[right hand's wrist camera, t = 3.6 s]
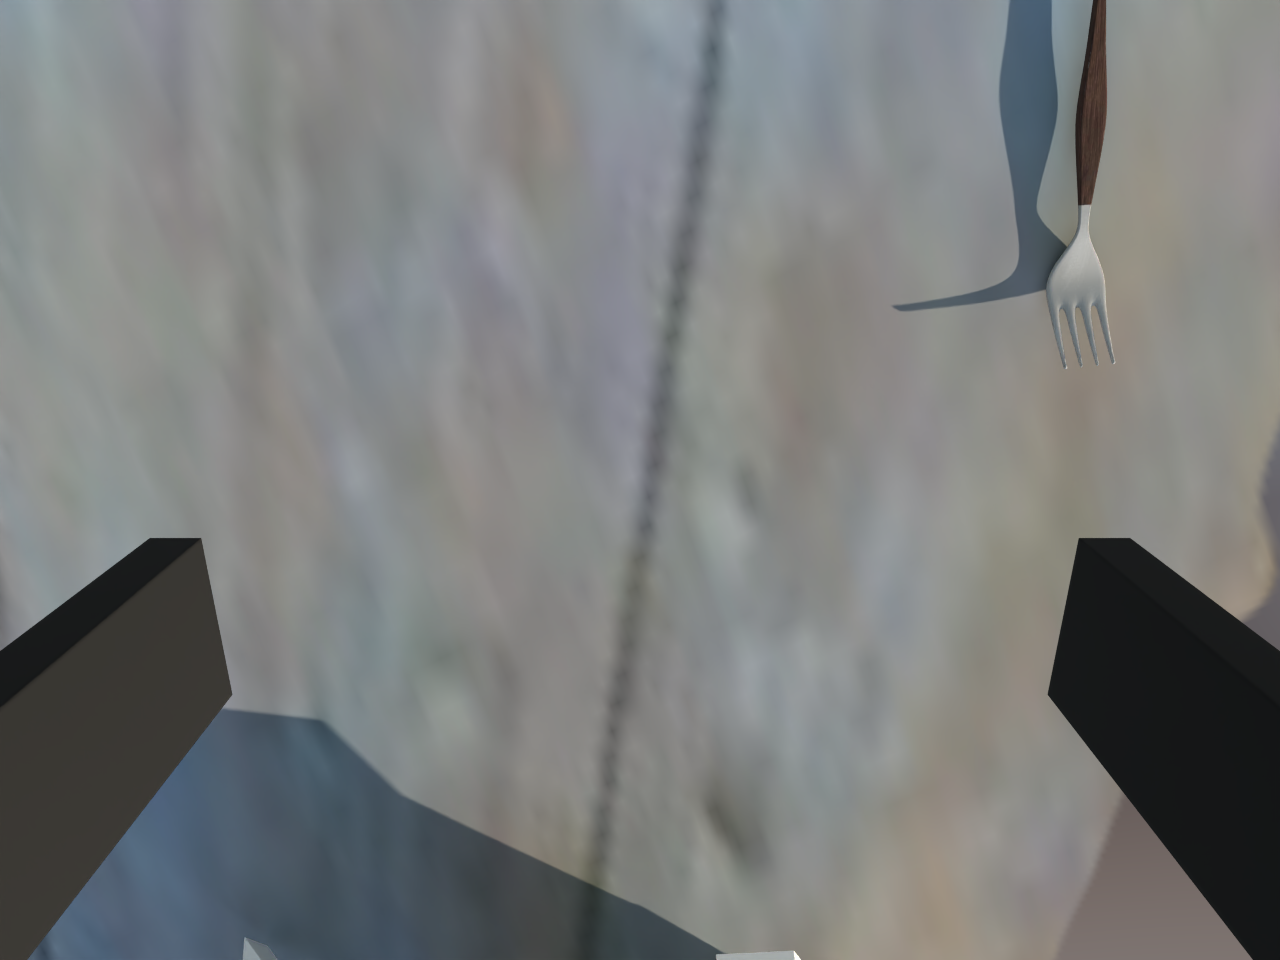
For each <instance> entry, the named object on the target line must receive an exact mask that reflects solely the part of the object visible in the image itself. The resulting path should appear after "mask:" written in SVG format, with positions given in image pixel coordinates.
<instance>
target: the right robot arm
mask: <svg viewBox="0 0 1280 960" xmlns="http://www.w3.org/2000/svg"><path fill="white" fill-rule="evenodd" d="M231 696H232V690H231V685H230V680H229V675H228V670H227V665H226V660H225V655H224V650H223V645H222V640H221V635H220V630H219V625H218V620H217V615H216V610H215V605H214V600H213V595H212V590H211V585H210V580H209V575H208V570H207V565H206V560H205V555H204V550H203V545H202V540H201V538H149V539H148V540H147V541H145V542H144V543H143V544H141V545H140V546H139V547H138V548H136V549H135V550H134V551H132V552H131V553H130V554H128V555H127V556H126V557H124V558H123V559H122V560H120V561H119V562H118V563H116V564H115V565H114V566H112V567H111V568H110V569H108V570H107V571H106V572H104V573H103V574H102V575H100V576H99V577H98V578H96V579H95V580H94V581H92V582H91V583H90V584H89V585H87V586H86V587H85V588H83V589H82V590H81V591H79V592H78V593H77V594H75V595H74V596H73V597H71V598H70V599H69V600H67V601H66V602H65V603H63V604H62V605H61V606H59V607H58V608H57V609H55V610H54V611H53V612H51V613H50V614H49V615H47V616H46V617H45V618H44V619H42V620H41V621H40V622H38V623H37V624H36V625H34V626H33V627H32V628H30V629H29V630H28V631H26V632H25V633H24V634H22V635H21V636H20V637H18V638H17V639H16V640H14V641H13V642H12V643H10V644H9V645H8V646H6V647H5V648H4V649H2V650H1V651H0V960H27V959H28V958H29V957H30V955H31V954H32V953H33V951H34V950H35V949H36V947H37V946H38V945H39V944H40V942H41V941H42V940H43V938H44V937H45V936H46V935H47V933H48V932H49V931H50V929H51V928H52V927H53V926H54V924H55V923H56V922H57V920H58V919H59V918H60V916H61V915H62V914H63V913H64V911H65V910H66V909H67V907H68V906H69V905H70V904H71V902H72V901H73V900H74V898H75V897H76V896H77V895H78V893H79V892H80V891H81V889H82V888H83V887H84V885H85V884H86V883H87V882H88V880H89V879H90V878H91V876H92V875H93V874H94V873H95V871H96V870H97V869H98V867H99V866H100V865H101V864H102V862H103V861H104V860H105V858H106V857H107V856H108V854H109V853H110V852H111V851H112V849H113V848H114V847H115V845H116V844H117V843H118V842H119V840H120V839H121V838H122V836H123V835H124V834H125V833H126V831H127V830H128V829H129V827H130V826H131V825H132V823H133V822H134V821H135V820H136V818H137V817H138V816H139V814H140V813H141V812H142V811H143V809H144V808H145V807H146V805H147V804H148V803H149V802H150V800H151V799H152V798H153V796H154V795H155V794H156V792H157V791H158V790H159V789H160V787H161V786H162V785H163V783H164V782H165V781H166V780H167V778H168V777H169V776H170V774H171V773H172V772H173V771H174V769H175V768H176V767H177V765H178V764H179V763H180V761H181V760H182V759H183V758H184V756H185V755H186V754H187V752H188V751H189V750H190V749H191V747H192V746H193V745H194V743H195V742H196V741H197V740H198V738H199V737H200V736H201V734H202V733H203V732H204V730H205V729H206V728H207V727H208V725H209V724H210V723H211V721H212V720H213V719H214V718H215V716H216V715H217V714H218V712H219V711H220V710H221V709H222V707H223V706H224V705H225V703H226V702H227V701H228V700H229V698H230V697H231ZM1048 696H1049V697H1050V698H1051V700H1052V701H1053V702H1054V703H1055V705H1056V706H1057V707H1058V709H1059V710H1060V711H1061V712H1062V714H1063V715H1064V716H1065V718H1066V719H1067V720H1068V721H1069V723H1070V724H1071V725H1072V727H1073V728H1074V729H1075V730H1076V732H1077V733H1078V734H1079V736H1080V737H1081V738H1082V740H1083V741H1084V742H1085V743H1086V745H1087V746H1088V747H1089V749H1090V750H1091V751H1092V752H1093V754H1094V755H1095V756H1096V758H1097V759H1098V760H1099V761H1100V763H1101V764H1102V765H1103V767H1104V768H1105V769H1106V771H1107V772H1108V773H1109V774H1110V776H1111V777H1112V778H1113V780H1114V781H1115V782H1116V783H1117V785H1118V786H1119V787H1120V789H1121V790H1122V791H1123V792H1124V794H1125V795H1126V796H1127V798H1128V799H1129V800H1130V802H1131V803H1132V804H1133V805H1134V807H1135V808H1136V809H1137V811H1138V812H1139V813H1140V814H1141V816H1142V817H1143V818H1144V820H1145V821H1146V822H1147V823H1148V825H1149V826H1150V827H1151V829H1152V830H1153V831H1154V833H1155V834H1156V835H1157V836H1158V838H1159V839H1160V840H1161V842H1162V843H1163V844H1164V845H1165V847H1166V848H1167V849H1168V851H1169V852H1170V853H1171V854H1172V856H1173V857H1174V858H1175V860H1176V861H1177V862H1178V864H1179V865H1180V866H1181V867H1182V869H1183V870H1184V871H1185V873H1186V874H1187V875H1188V876H1189V878H1190V879H1191V880H1192V882H1193V883H1194V884H1195V885H1196V887H1197V888H1198V889H1199V891H1200V892H1201V893H1202V895H1203V896H1204V897H1205V898H1206V900H1207V901H1208V902H1209V904H1210V905H1211V906H1212V907H1213V909H1214V910H1215V911H1216V913H1217V914H1218V915H1219V916H1220V918H1221V919H1222V920H1223V922H1224V923H1225V924H1226V925H1227V927H1228V928H1229V929H1230V931H1231V932H1232V933H1233V935H1234V936H1235V937H1236V938H1237V940H1238V941H1239V942H1240V944H1241V945H1242V946H1243V947H1244V949H1245V950H1246V951H1247V953H1248V954H1249V955H1250V957H1251V958H1252V959H1253V960H1280V651H1279V650H1278V649H1276V648H1275V647H1274V646H1272V645H1271V644H1270V643H1268V642H1267V641H1266V640H1264V639H1263V638H1262V637H1260V636H1259V635H1258V634H1256V633H1255V632H1254V631H1252V630H1251V629H1250V628H1248V627H1247V626H1246V625H1244V624H1243V623H1242V622H1240V621H1239V620H1238V619H1236V618H1235V617H1234V616H1233V615H1231V614H1230V613H1229V612H1227V611H1226V610H1225V609H1223V608H1222V607H1221V606H1219V605H1218V604H1217V603H1215V602H1214V601H1213V600H1211V599H1210V598H1209V597H1207V596H1206V595H1205V594H1203V593H1202V592H1201V591H1199V590H1198V589H1197V588H1195V587H1194V586H1193V585H1191V584H1190V583H1189V582H1188V581H1186V580H1185V579H1184V578H1182V577H1181V576H1180V575H1178V574H1177V573H1176V572H1174V571H1173V570H1172V569H1170V568H1169V567H1168V566H1166V565H1165V564H1164V563H1162V562H1161V561H1160V560H1158V559H1157V558H1156V557H1154V556H1153V555H1152V554H1150V553H1149V552H1148V551H1146V550H1145V549H1144V548H1142V547H1141V546H1140V545H1139V544H1137V543H1136V542H1135V541H1133V540H1132V539H1131V538H1079V540H1078V545H1077V550H1076V555H1075V560H1074V565H1073V570H1072V575H1071V580H1070V585H1069V590H1068V595H1067V600H1066V605H1065V610H1064V615H1063V620H1062V625H1061V630H1060V635H1059V640H1058V645H1057V650H1056V655H1055V660H1054V665H1053V670H1052V675H1051V680H1050V685H1049V690H1048Z"/></svg>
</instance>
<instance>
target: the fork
mask: <svg viewBox="0 0 1280 960" xmlns="http://www.w3.org/2000/svg"><path fill="white" fill-rule="evenodd" d="M1106 114H1107V75H1106V0H1093V5H1092V13H1091V20H1090V27H1089V35H1088V42H1087V49H1086V55H1085V61H1084V67H1083V73H1082V79H1081V85H1080V91H1079V97H1078V104H1077V113H1076V131H1075V138H1076V168H1077V189H1078V227H1077V231H1076V234H1075V236H1074V238H1073V239H1072V241H1071V243H1070V244H1069V246H1068V247H1067V248H1066V250H1065V251H1064V253H1063V254H1062V255H1061V257H1060V258H1059V259H1058V261H1057V262H1056V264H1055V265H1054V267H1053V269H1052V271H1051V273H1050V275H1049V278H1048V281H1047V286H1046V296H1047V302H1048V307H1049V312H1050V316H1051V321H1052V325H1053V330H1054V334H1055V338H1056V341H1057V345H1058V349H1059V352H1060V356H1061V360H1062V363H1063V367H1064V369H1066V368H1067V365H1066V361H1065V355H1064V349H1063V342H1062V335H1061V328H1060V321H1059V311H1060V309H1063V310H1064V311H1065V314H1066V317H1067V320H1068V325H1069V329H1070V333H1071V336H1072V340H1073V344H1074V347H1075V351H1076V355H1077V358H1078V361H1079V365H1080V367H1082V366H1083V365H1082V360H1081V354H1080V348H1079V341H1078V334H1077V328H1076V320H1075V309H1076V307H1079V308H1080V310H1081V312H1082V316H1083V319H1084V324H1085V328H1086V331H1087V335H1088V339H1089V342H1090V346H1091V350H1092V353H1093V356H1094V360H1095V363H1096V365H1097V366H1098V364H1099V362H1098V358H1097V352H1096V346H1095V340H1094V333H1093V327H1092V320H1091V307H1092V306H1093V305H1094V306H1095V307H1096V308H1097V311H1098V314H1099V318H1100V322H1101V326H1102V330H1103V334H1104V337H1105V341H1106V345H1107V348H1108V352H1109V355H1110V358H1111V362H1112V364H1114V363H1115V360H1114V356H1113V350H1112V344H1111V338H1110V332H1109V326H1108V319H1107V311H1106V296H1105V281H1104V275H1103V271H1102V267H1101V264H1100V261H1099V259H1098V257H1097V254H1096V252H1095V250H1094V248H1093V245H1092V243H1091V240H1090V236H1089V230H1088V224H1089V215H1090V208H1091V203H1092V198H1093V192H1094V187H1095V182H1096V177H1097V172H1098V167H1099V162H1100V156H1101V151H1102V145H1103V139H1104V133H1105V125H1106Z"/></svg>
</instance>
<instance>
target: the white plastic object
mask: <svg viewBox="0 0 1280 960" xmlns="http://www.w3.org/2000/svg"><path fill="white" fill-rule="evenodd" d="M243 960H278V959H277V958H276V956H275V955H274V954H273V952H272V951H271V950H270V948H269V947H268V946H267V945H265V944H262V943H259V942H256V941H254V940H251V939H248V938H245V937H244V949H243ZM716 960H801V959H800V958H799V957H798V955H797V954H796V953H795V952H794V951H775V952H754V953H733V954H716Z"/></svg>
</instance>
